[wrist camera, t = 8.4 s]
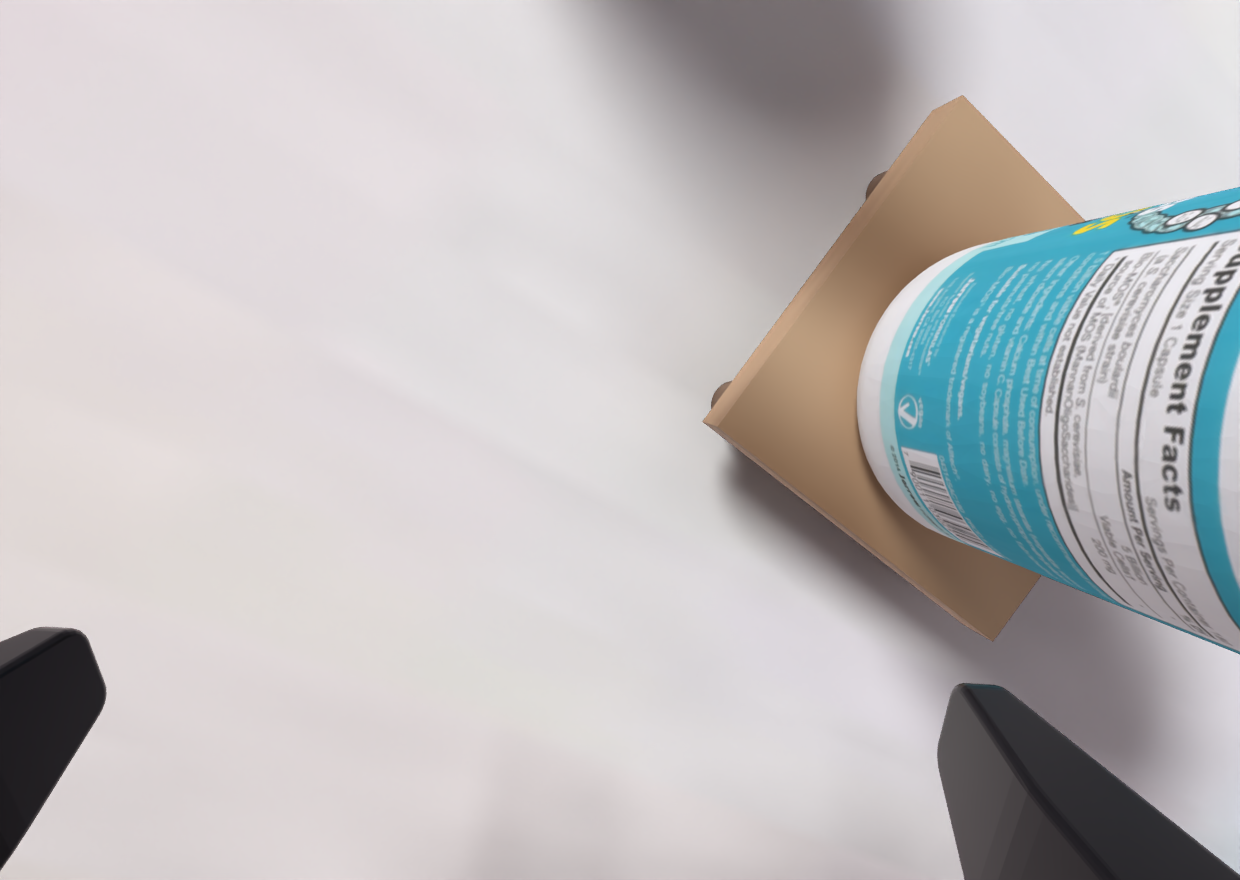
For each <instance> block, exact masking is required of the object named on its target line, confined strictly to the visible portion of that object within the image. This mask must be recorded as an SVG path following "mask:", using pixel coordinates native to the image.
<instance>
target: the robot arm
mask: <svg viewBox="0 0 1240 880" xmlns="http://www.w3.org/2000/svg"><path fill="white" fill-rule="evenodd" d="M105 700H106V685H105V682H104V680H103V677H102V674H101V672H100V669H99V667H98V664H97V661H96V659H95V656H94V653H93V651H92V648H91V645H90V643H89V640H88V639H87V637H86V635H85V634H83V633H82V632H81V631H80V630H77V629H73V628H59V627H39V628H34V629H31V630H28V631H26V632H23V633H21V634H19V635H16V636H14V637H11V638H9V639H6V640H4V641H2V642H0V871H1V869H2V868H3V866H4V865H5V864H6V862H7V861H8V859H9V858H10V856H11V855H12V854H13V852H14V851H15V849H16V848H17V846H18V844H19V843H20V841H21V840H22V838H23V837H24V835H25V834H26V832H27V831H28V829H29V827H30V826H31V824H32V823H33V821H34V819H35V818H36V816H37V815H38V813H39V811H40V810H41V808H42V806H43V805H44V803H45V802H46V800H47V798H48V797H49V795H50V794H51V792H52V790H53V789H54V787H55V786H56V784H57V782H58V781H59V779H60V777H61V776H62V774H63V773H64V771H65V769H66V768H67V766H68V765H69V763H70V761H71V760H72V758H73V757H74V755H75V753H76V752H77V750H78V749H79V747H80V745H81V744H82V742H83V740H84V739H85V737H86V736H87V734H88V732H89V731H90V729H91V728H92V726H93V724H94V723H95V721H96V720H97V718H98V716H99V715H100V713H101V711H102V709H103V706H104V704H105ZM937 758H938V768H939V773H940V777H941V781H942V786H943V790H944V794H945V798H946V803H947V807H948V811H949V815H950V820H951V824H952V828H953V832H954V837H955V841H956V845H957V849H958V854H959V858H960V862H961V866H962V871H963V875H964V879H965V880H1240V875H1239V874H1238V873H1236V872H1235V871H1234V870H1233V869H1231V868H1230V867H1229V866H1228V865H1226V864H1225V863H1224V862H1223V861H1221V860H1220V859H1219V858H1218V857H1216V856H1215V855H1214V854H1213V853H1211V852H1210V851H1209V850H1208V849H1206V848H1205V847H1204V846H1203V845H1201V844H1200V843H1199V842H1197V841H1196V840H1195V839H1194V838H1192V837H1191V836H1190V835H1189V834H1187V833H1186V832H1185V831H1184V830H1182V829H1181V828H1180V827H1179V826H1177V825H1176V824H1175V823H1174V822H1172V821H1171V820H1170V819H1169V818H1167V817H1166V816H1165V815H1164V814H1162V813H1161V812H1160V811H1159V810H1157V809H1156V808H1155V807H1153V806H1152V805H1151V804H1150V803H1148V802H1147V801H1146V800H1145V799H1143V798H1142V797H1141V796H1140V795H1138V794H1137V793H1136V792H1135V791H1133V790H1132V789H1131V788H1130V787H1128V786H1127V785H1126V784H1125V783H1123V782H1122V781H1121V780H1120V779H1118V778H1117V777H1116V776H1115V775H1113V774H1112V773H1111V772H1110V771H1108V770H1107V769H1106V768H1104V767H1103V766H1102V765H1101V764H1099V763H1098V762H1097V761H1096V760H1094V759H1093V758H1092V757H1091V756H1089V755H1088V754H1087V753H1086V752H1084V751H1083V750H1082V749H1081V748H1079V747H1078V746H1077V745H1076V744H1074V743H1073V742H1072V741H1071V740H1069V739H1068V738H1067V737H1066V736H1064V735H1063V734H1062V733H1061V732H1059V731H1058V730H1057V729H1055V728H1054V727H1053V726H1052V725H1050V724H1049V723H1048V722H1047V721H1045V720H1044V719H1043V718H1042V717H1040V716H1039V715H1038V714H1037V713H1035V712H1034V711H1033V710H1032V709H1030V708H1029V707H1028V706H1027V705H1025V704H1024V703H1023V702H1022V701H1020V700H1019V699H1018V698H1017V697H1015V696H1014V695H1013V694H1011V693H1010V692H1009V691H1007V690H1006V689H1004V688H1002V687H1000V686H996V685H985V684H969V683H962V684H959V685H957V686H955V688H954V689H953V691H952V693H951V696H950V699H949V703H948V707H947V711H946V715H945V719H944V723H943V727H942V731H941V735H940V738H939V743H938V751H937Z"/></svg>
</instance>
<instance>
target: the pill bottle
mask: <svg viewBox="0 0 1240 880" xmlns="http://www.w3.org/2000/svg"><path fill="white" fill-rule="evenodd" d="M857 419H858V426H859V433H860V438H861V442H862V446H863V449H864V452H865V455H866V458H867V460H868V462H869V464H870V467H871V469H872V471H873V473H874V475H875V476H876V478H877V480H878V482H879V483H880V484H881V486H882V487H883V489H884V490H885V492H886V493H887V494H888V495H889V496H890V498H891V499H892V500H893V501H894V502H895V503H896V504H897V505H898V506H899V507H900V508H901V509H902V510H903V511H904V512H905V513H906V514H908V515H909V516H910V517H912V518H913V519H914V520H916V521H917V522H919V523H920V524H922V525H923V526H925V527H926V528H928V529H931V530H933V531H935V532H937V533H939V534H941V535H944V536H946V537H948V538H951V539H953V540H956V541H958V542H961V543H963V544H966V545H968V546H971V547H973V548H976V549H978V550H981V551H984V552H986V553H989V554H991V555H994V556H996V557H999V558H1001V559H1004V560H1006V561H1008V562H1011V563H1013V564H1016V565H1018V566H1021V567H1023V568H1026V569H1028V570H1031V571H1033V572H1036V573H1038V574H1041V575H1043V576H1046V577H1048V578H1050V579H1053V580H1055V581H1058V582H1060V583H1063V584H1065V585H1068V586H1070V587H1073V588H1075V589H1078V590H1080V591H1083V592H1085V593H1088V594H1090V595H1093V596H1096V597H1098V598H1101V599H1103V600H1106V601H1108V602H1111V603H1113V604H1116V605H1118V606H1121V607H1123V608H1126V609H1128V610H1131V611H1133V612H1136V613H1138V614H1141V615H1143V616H1146V617H1148V618H1151V619H1153V620H1156V621H1158V622H1161V623H1163V624H1166V625H1168V626H1171V627H1173V628H1176V629H1178V630H1181V631H1183V632H1186V633H1188V634H1191V635H1193V636H1196V637H1198V638H1201V639H1203V640H1206V641H1208V642H1211V643H1213V644H1216V645H1218V646H1221V647H1223V648H1225V649H1228V650H1230V651H1233V652H1235V653H1238V654H1240V187H1238V188H1233V189H1229V190H1225V191H1220V192H1216V193H1211V194H1207V195H1202V196H1198V197H1193V198H1189V199H1184V200H1180V201H1175V202H1171V203H1166V204H1161V205H1157V206H1152V207H1148V208H1143V209H1139V210H1134V211H1130V212H1125V213H1120V214H1116V215H1111V216H1106V217H1103V218H1097V219H1093V220H1089V221H1084V222H1080V223H1076V224H1071V225H1067V226H1062V227H1058V228H1053V229H1049V230H1044V231H1039V232H1034V233H1030V234H1025V235H1020V236H1015V237H1011V238H1007V239H1003V240H999V241H994V242H990V243H985V244H981V245H977V246H974V247H971V248H968V249H965V250H962V251H960V252H957V253H955V254H953V255H950V256H948V257H946V258H944V259H942V260H940V261H939V262H937V263H935V264H934V265H932V266H930V267H929V268H927V269H926V270H925V271H923V272H922V273H921V274H919V275H918V276H917V277H916V278H914V279H913V280H912V281H911V282H910V283H909V284H908V285H907V286H906V287H905V288H904V289H902V290H901V292H900V293H899V294H898V295H897V296H896V297H895V299H894V300H893V301H892V302H891V303H890V305H889V306H888V308H887V309H886V310H885V312H884V314H883V315H882V317H881V318H880V320H879V322H878V323H877V325H876V327H875V329H874V331H873V333H872V335H871V338H870V340H869V343H868V345H867V348H866V351H865V354H864V357H863V361H862V364H861V368H860V374H859V380H858V386H857Z"/></svg>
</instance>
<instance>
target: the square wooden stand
mask: <svg viewBox="0 0 1240 880" xmlns="http://www.w3.org/2000/svg"><path fill="white" fill-rule="evenodd" d="M1084 221H1085V220H1084V219H1083V218H1082V217H1081V216H1080V215H1079V214H1078V213H1077V212H1076V211H1075V210H1074V209H1073V208H1072V207H1071V206H1070V205H1069V204H1068V203H1067V202H1066V201H1065V200H1064V199H1063V197H1062V196H1061V195H1060V194H1059V193H1058V192H1057V191H1056V190H1055V189H1054V188H1053V187H1052V186H1051V185H1050V184H1049V183H1048V182H1047V181H1046V180H1045V179H1044V178H1043V177H1042V176H1041V175H1040V174H1039V173H1038V172H1037V171H1036V170H1035V169H1034V168H1033V167H1032V166H1031V165H1030V164H1029V163H1028V162H1027V160H1026V159H1025V158H1024V157H1023V156H1022V155H1021V154H1020V153H1019V152H1018V151H1017V150H1016V149H1015V148H1014V147H1013V146H1012V145H1011V144H1010V143H1009V142H1008V141H1007V140H1006V139H1005V138H1004V137H1003V136H1002V135H1001V134H1000V133H999V132H998V131H997V130H996V129H995V128H994V127H993V126H992V124H991V123H990V122H989V121H988V120H987V119H986V118H985V117H984V116H983V115H982V114H981V113H980V112H979V111H978V110H977V109H976V108H975V107H974V106H973V105H972V104H971V103H970V102H969V101H968V100H967V99H966V98H965V97H964V96H963V95H962V96H960V97H958V98H956V99H954V100H952V101H950V102H948V103H946V104H945V105H943V106H941V107H939V108H937V109H935V110H933V111H932V112H931V113H930V115H929V116H928V117H927V119H926V120H925V121H924V123H923V124H922V126H921V127H920V128H919V130H918V131H917V132H916V134H915V135H914V136H913V138H912V139H911V140H910V142H909V143H908V144H907V146H906V147H905V148H904V150H903V151H902V153H901V154H900V155H899V157H898V158H897V159H896V161H895V162H894V163H893V165H892V166H891V167H890V169H889V170H888V171H885V172H883V173H881V174H879V175H877V176H876V177H874V178H873V179H872V181H871V182H870V184H869V186H868V188H867V192H866V201H865V203H864V204H863V205H862V207H861V208H860V209H859V211H858V212H857V213H856V215H855V216H854V217H853V219H852V220H851V222H850V223H849V224H848V226H847V227H846V228H845V230H844V231H843V232H842V234H841V235H840V236H839V238H838V239H837V240H836V242H835V243H834V244H833V246H832V247H831V249H830V250H829V251H828V253H827V254H826V255H825V257H824V258H823V259H822V261H821V262H820V263H819V265H818V266H817V267H816V269H815V270H814V272H813V273H812V274H811V276H810V277H809V278H808V280H807V281H806V282H805V284H804V285H803V286H802V288H801V289H800V290H799V292H798V293H797V295H796V296H795V297H794V299H793V300H792V301H791V303H790V304H789V305H788V307H787V308H786V309H785V311H784V312H783V313H782V315H781V316H780V317H779V319H778V320H777V322H776V323H775V324H774V326H773V327H772V328H771V330H770V331H769V332H768V334H767V335H766V336H765V338H764V339H763V340H762V342H761V343H760V345H759V346H758V347H757V349H756V350H755V351H754V353H753V354H752V355H751V357H750V358H749V359H748V361H747V362H746V363H745V365H744V366H743V368H742V369H741V370H740V372H739V373H738V374H737V376H736V377H735V378H734V380H733V381H730V382H727V383H724V384H723V385H721V386H720V387H719V388H718V389H717V390H716V392H715V393H714V395H713V398H712V402H711V411H710V412H709V413H708V415H707V416H706V418H705V419H704V420H703V422H704V423H705V424H706V425H707V426H709V427H710V428H711V429H713V430H714V431H715V432H716V433H718V434H719V435H720V436H722V437H723V438H724V439H725V440H727V441H728V442H729V443H730V444H732V445H733V446H734V447H736V448H737V449H738V450H739V451H741V452H742V453H743V454H745V455H746V456H747V457H748V458H750V459H751V460H752V461H754V462H755V463H756V464H757V465H759V466H760V467H761V468H763V469H764V470H765V471H766V472H768V473H769V474H770V475H772V476H773V477H774V478H775V479H777V480H778V481H779V482H781V483H782V484H783V485H784V486H786V487H787V488H788V489H790V490H791V491H792V492H793V493H795V494H796V495H797V496H799V497H800V498H801V499H802V500H804V501H805V502H806V503H808V504H809V505H810V506H811V507H813V508H814V509H815V510H817V511H818V512H819V513H820V514H822V515H823V516H824V517H826V518H827V519H828V520H829V521H831V522H832V523H833V524H835V525H836V526H837V527H838V528H840V529H841V530H842V531H844V532H845V533H846V534H847V535H849V536H850V537H851V538H853V539H854V540H855V541H856V542H858V543H859V544H860V545H862V546H863V547H864V548H865V549H867V550H868V551H869V552H871V553H872V554H873V555H874V556H876V557H877V558H878V559H880V560H881V561H882V562H883V563H885V564H886V565H887V566H889V567H890V568H891V569H892V570H894V571H895V572H896V573H898V574H899V575H900V576H901V577H903V578H904V579H905V580H907V581H908V582H909V583H910V584H912V585H913V586H914V587H916V588H917V589H918V590H919V591H921V592H922V593H923V594H925V595H926V596H927V597H928V598H930V599H931V600H932V601H934V602H935V603H936V604H937V605H939V606H940V607H941V608H943V609H944V610H945V611H946V612H948V613H949V614H950V615H952V616H953V617H954V618H955V619H957V620H958V621H959V622H961V623H962V624H963V625H965V626H966V627H968V628H970V629H972V630H973V631H975V632H977V633H979V634H980V635H982V636H984V637H985V638H987V639H989V640H991V641H992V642H993V641H994V639H995V638H996V637H997V635H998V634H999V633H1000V631H1001V630H1002V629H1003V627H1004V626H1005V624H1006V623H1007V622H1008V620H1009V619H1010V618H1011V616H1012V615H1013V613H1014V612H1015V611H1016V609H1017V608H1018V607H1019V605H1020V604H1021V603H1022V601H1023V600H1024V598H1025V597H1026V596H1027V594H1028V593H1029V592H1030V590H1031V589H1032V588H1033V586H1034V585H1035V583H1036V582H1037V581H1038V579H1039V578H1040V577H1041V574H1038V573H1036V572H1033V571H1031V570H1028V569H1026V568H1023V567H1021V566H1018V565H1016V564H1013V563H1011V562H1008V561H1006V560H1004V559H1001V558H999V557H996V556H994V555H991V554H989V553H986V552H984V551H981V550H978V549H976V548H973V547H971V546H968V545H966V544H963V543H961V542H958V541H956V540H953V539H951V538H948V537H946V536H944V535H941V534H939V533H937V532H935V531H933V530H931V529H928V528H926V527H925V526H923V525H922V524H920V523H919V522H917V521H916V520H914V519H913V518H912V517H910V516H909V515H908V514H906V513H905V512H904V511H903V510H902V509H901V508H900V507H899V506H898V505H897V504H896V503H895V502H894V501H893V500H892V499H891V498H890V496H889V495H888V494H887V493H886V492H885V490H884V489H883V487H882V486H881V484H880V483H879V482H878V480H877V478H876V476H875V475H874V473H873V471H872V469H871V467H870V464H869V462H868V460H867V458H866V455H865V452H864V449H863V446H862V442H861V438H860V433H859V426H858V419H857V386H858V380H859V374H860V368H861V364H862V361H863V357H864V354H865V351H866V348H867V345H868V343H869V340H870V338H871V335H872V333H873V331H874V329H875V327H876V325H877V323H878V322H879V320H880V318H881V317H882V315H883V314H884V312H885V310H886V309H887V308H888V306H889V305H890V303H891V302H892V301H893V300H894V299H895V297H896V296H897V295H898V294H899V293H900V292H901V290H902V289H904V288H905V287H906V286H907V285H908V284H909V283H910V282H911V281H912V280H913V279H914V278H916V277H917V276H918V275H919V274H921V273H922V272H923V271H925V270H926V269H927V268H929V267H930V266H932V265H934V264H935V263H937V262H939V261H940V260H942V259H944V258H946V257H948V256H950V255H953V254H955V253H957V252H960V251H962V250H965V249H968V248H971V247H974V246H977V245H981V244H985V243H990V242H994V241H999V240H1003V239H1007V238H1011V237H1015V236H1020V235H1025V234H1030V233H1034V232H1039V231H1044V230H1049V229H1053V228H1058V227H1062V226H1067V225H1071V224H1076V223H1080V222H1084Z"/></svg>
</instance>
